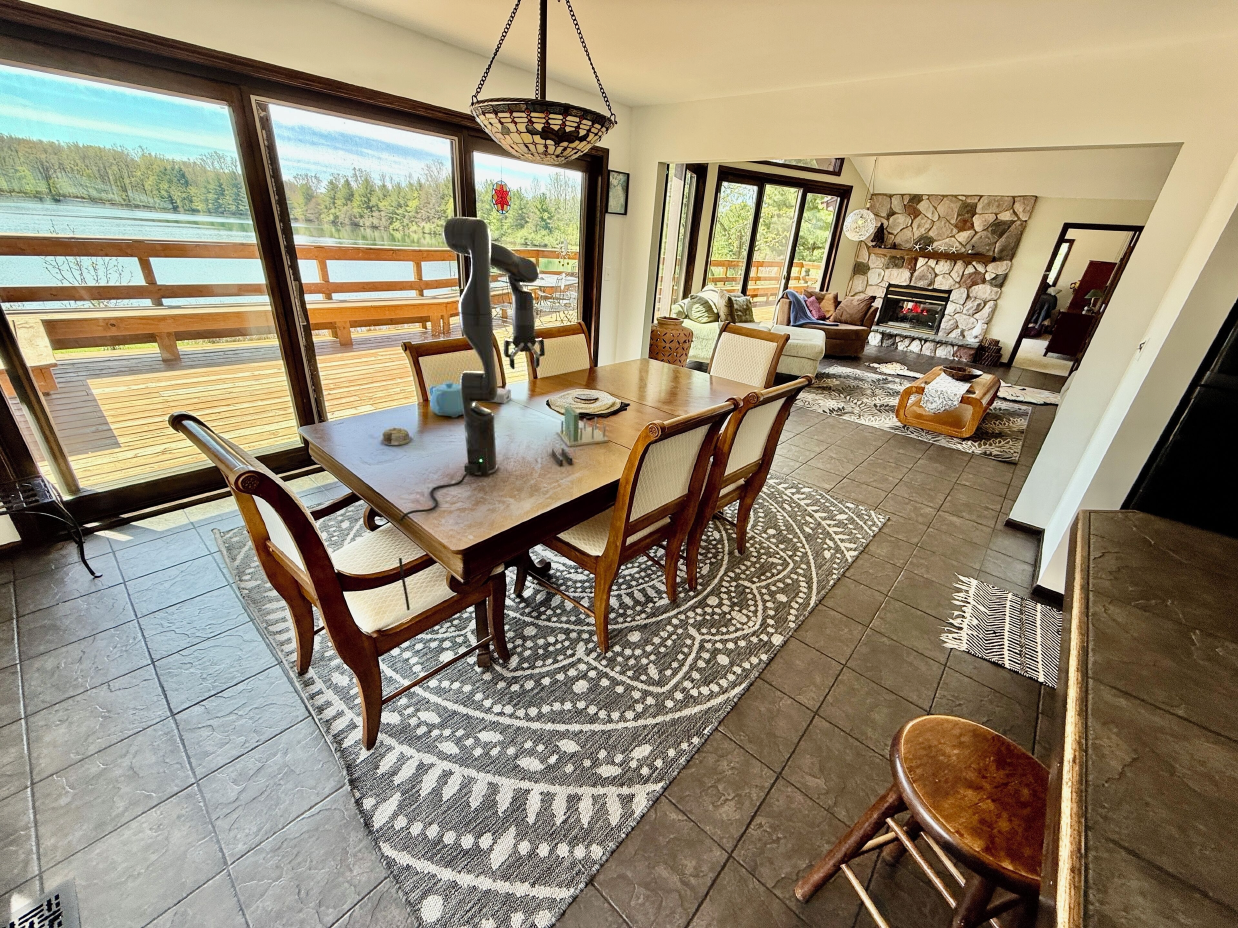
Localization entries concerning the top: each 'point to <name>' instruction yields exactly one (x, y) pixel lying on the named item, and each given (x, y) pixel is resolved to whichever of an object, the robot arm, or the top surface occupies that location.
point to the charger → (503, 395)
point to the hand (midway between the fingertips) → (524, 368)
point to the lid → (571, 422)
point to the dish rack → (584, 435)
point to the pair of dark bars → (558, 458)
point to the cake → (395, 436)
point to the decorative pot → (446, 399)
